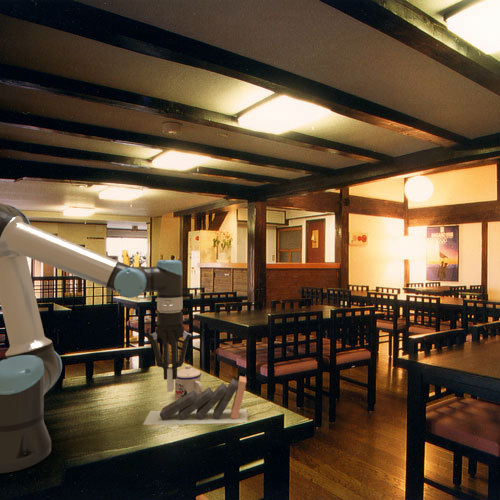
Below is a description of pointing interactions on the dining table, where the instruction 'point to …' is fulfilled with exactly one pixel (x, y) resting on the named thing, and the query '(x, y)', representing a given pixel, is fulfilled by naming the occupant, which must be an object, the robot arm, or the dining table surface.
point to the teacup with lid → (187, 382)
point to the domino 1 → (178, 405)
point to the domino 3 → (211, 401)
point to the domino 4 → (225, 399)
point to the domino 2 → (196, 403)
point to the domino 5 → (238, 397)
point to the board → (196, 418)
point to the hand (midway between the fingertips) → (170, 389)
